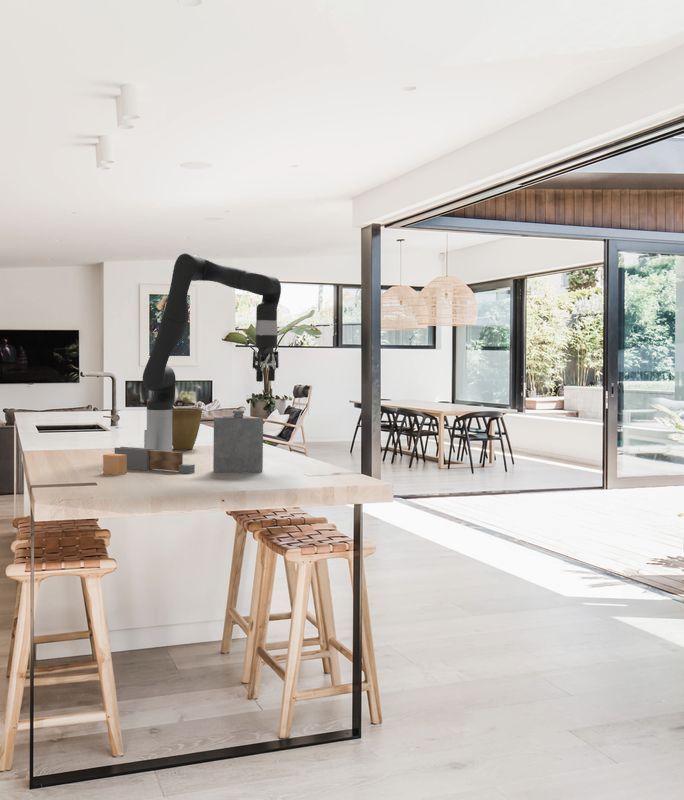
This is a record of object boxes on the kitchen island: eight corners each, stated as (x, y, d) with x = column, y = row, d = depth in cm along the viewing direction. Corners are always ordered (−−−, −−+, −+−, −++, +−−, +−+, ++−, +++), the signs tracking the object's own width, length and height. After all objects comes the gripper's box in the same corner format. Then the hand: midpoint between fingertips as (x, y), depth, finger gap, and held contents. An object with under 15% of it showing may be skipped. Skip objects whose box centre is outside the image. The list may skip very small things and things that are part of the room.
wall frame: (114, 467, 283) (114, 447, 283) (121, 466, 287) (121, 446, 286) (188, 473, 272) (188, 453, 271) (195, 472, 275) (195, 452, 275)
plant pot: (208, 448, 343) (209, 408, 342) (189, 452, 329) (189, 410, 328) (176, 446, 348) (176, 406, 348) (156, 449, 334) (156, 409, 334)
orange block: (103, 473, 269) (103, 454, 269) (111, 472, 273) (111, 453, 272) (118, 475, 266) (118, 456, 266) (126, 473, 270) (126, 454, 270)
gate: (144, 468, 280) (144, 450, 280) (146, 467, 281) (146, 449, 281) (180, 471, 274) (180, 452, 274) (182, 470, 276) (182, 452, 275)
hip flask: (262, 471, 281) (263, 410, 280) (262, 472, 277) (263, 411, 276) (213, 470, 280) (214, 409, 279) (212, 472, 276) (213, 410, 275)
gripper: (266, 334, 302) (265, 380, 303) (246, 333, 289) (245, 381, 290) (285, 334, 299) (284, 381, 300) (266, 333, 286) (265, 382, 287)
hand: (265, 381), depth 295 cm, fingers open, 8 cm apart
